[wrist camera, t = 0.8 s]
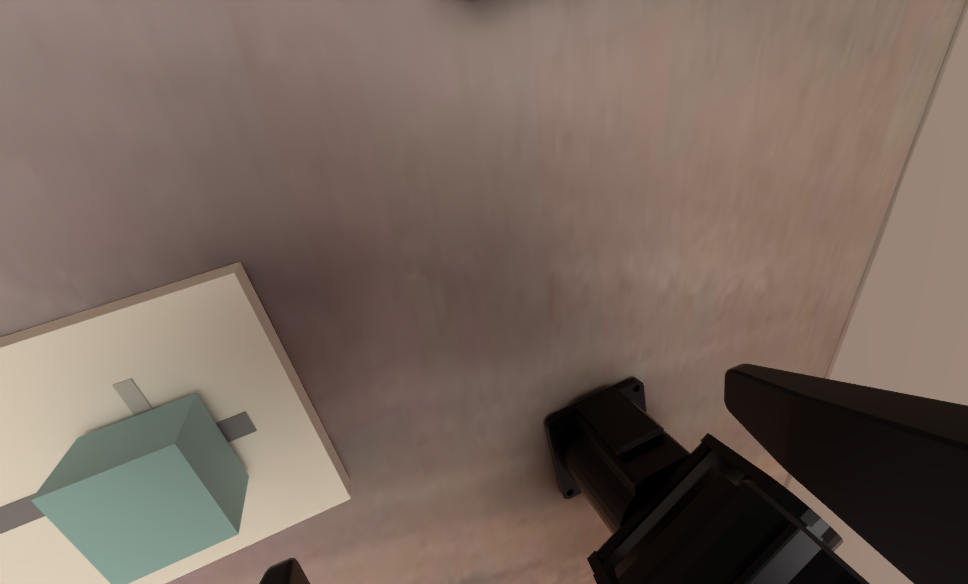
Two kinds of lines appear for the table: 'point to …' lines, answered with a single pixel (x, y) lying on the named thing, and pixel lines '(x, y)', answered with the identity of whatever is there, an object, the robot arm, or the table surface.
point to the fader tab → (147, 491)
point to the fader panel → (146, 386)
